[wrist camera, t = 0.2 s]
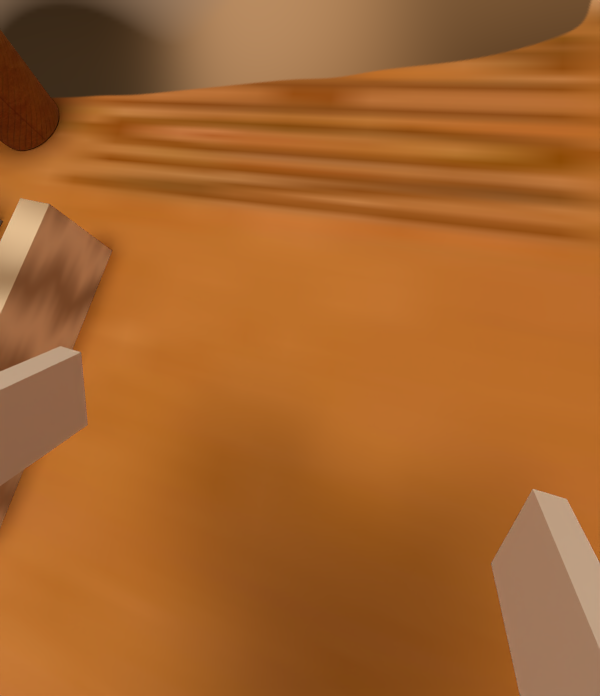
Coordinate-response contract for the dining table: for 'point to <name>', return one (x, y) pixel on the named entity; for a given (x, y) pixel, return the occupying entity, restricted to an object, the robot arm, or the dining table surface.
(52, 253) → the ash rail plank
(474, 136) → the dining table surface
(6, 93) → the disposable coffee cup
